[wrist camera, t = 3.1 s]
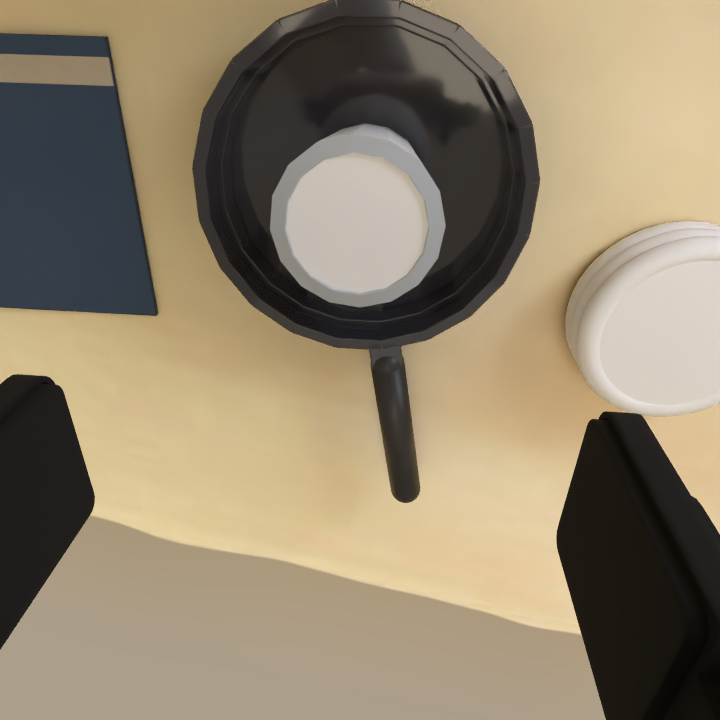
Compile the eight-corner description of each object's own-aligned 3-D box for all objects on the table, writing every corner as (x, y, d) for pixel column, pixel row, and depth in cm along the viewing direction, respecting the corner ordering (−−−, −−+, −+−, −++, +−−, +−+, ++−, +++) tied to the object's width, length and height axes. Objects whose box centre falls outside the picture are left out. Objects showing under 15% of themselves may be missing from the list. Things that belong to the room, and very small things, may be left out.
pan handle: (367, 330, 30) (365, 347, 28) (400, 327, 29) (400, 344, 28) (393, 488, 35) (392, 509, 34) (421, 487, 35) (421, 508, 34)
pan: (231, 311, 32) (214, 341, 29) (198, -3, 24) (169, -7, 21) (497, 326, 31) (507, 357, 28) (552, 6, 23) (574, 4, 20)
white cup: (438, 106, 25) (449, 130, 19) (435, 249, 29) (442, 308, 23) (291, 111, 26) (257, 137, 20) (304, 251, 29) (279, 309, 23)
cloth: (-72, 301, 33) (-76, 303, 33) (-186, 27, 26) (-193, 27, 26) (158, 313, 32) (156, 316, 32) (107, 36, 25) (104, 36, 25)
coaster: (755, 187, 27) (800, 208, 24) (763, 356, 31) (801, 391, 28) (545, 256, 29) (561, 283, 26) (580, 403, 34) (598, 440, 31)
